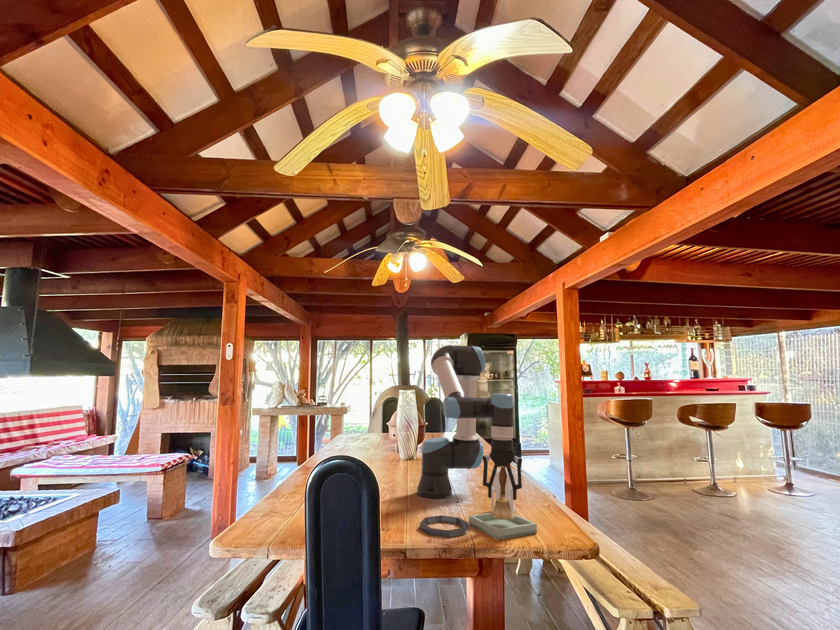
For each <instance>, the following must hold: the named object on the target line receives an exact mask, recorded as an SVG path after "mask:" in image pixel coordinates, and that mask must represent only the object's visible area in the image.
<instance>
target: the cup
mask: <svg viewBox="0 0 840 630" xmlns="http://www.w3.org/2000/svg"><path fill="white" fill-rule="evenodd" d="M500 470H501V467H497V471H496V474H495V477H494V481H493V484H492V487H494V496H495V500H496V499H497V498H499V497H500V488H501V486H500V481H499V474H500ZM505 470H506V474H507V481H506V485H505V498H507V499H508V500H509V504H510V509H511V489H513V488H512V484H511V481H510V477H509V474H508V471H507V467H505ZM511 470H512V473H513V477H514V480H515V484H516V485H517V484H518V475H517V469H513V468H511ZM512 513H513V514H516V506H515V500H513V511H512Z"/></svg>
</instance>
